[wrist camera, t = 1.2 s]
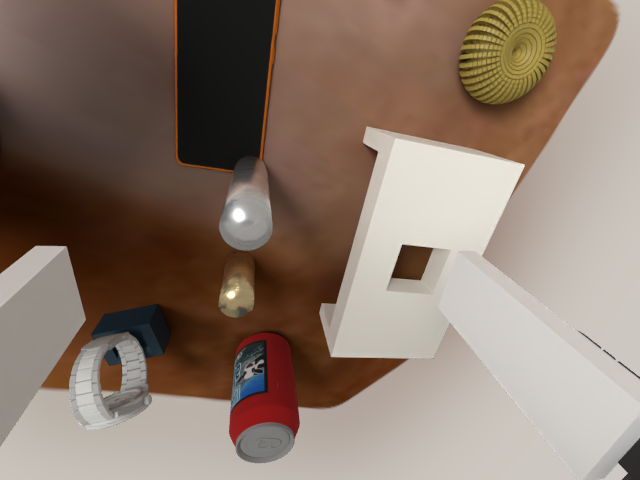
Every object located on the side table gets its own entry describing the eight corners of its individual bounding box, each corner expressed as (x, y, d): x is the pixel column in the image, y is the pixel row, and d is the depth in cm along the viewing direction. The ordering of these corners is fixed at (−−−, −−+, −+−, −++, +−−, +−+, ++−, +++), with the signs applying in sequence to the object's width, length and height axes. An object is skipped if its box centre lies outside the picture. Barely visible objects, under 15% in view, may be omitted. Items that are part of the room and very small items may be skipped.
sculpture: (477, 4, 23) (576, -22, 24) (448, 14, 27) (535, -9, 27) (476, 116, 27) (562, 92, 27) (451, 112, 31) (527, 91, 31)
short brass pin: (224, 273, 34) (217, 316, 28) (227, 249, 33) (219, 288, 27) (253, 276, 35) (251, 318, 28) (256, 252, 33) (255, 290, 27)
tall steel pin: (233, 184, 30) (217, 247, 18) (236, 152, 29) (221, 199, 17) (265, 189, 31) (268, 252, 19) (269, 158, 29) (276, 206, 18)
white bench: (319, 313, 39) (331, 356, 32) (366, 126, 30) (395, 138, 23) (407, 317, 41) (433, 358, 35) (474, 149, 33) (525, 164, 26)
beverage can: (244, 323, 37) (238, 418, 27) (297, 332, 39) (312, 424, 29) (229, 364, 40) (219, 466, 29) (280, 371, 42) (288, 468, 31)
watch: (127, 356, 36) (80, 455, 27) (97, 301, 33) (29, 393, 23) (177, 345, 37) (148, 439, 27) (152, 290, 33) (109, 376, 24)
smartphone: (176, 163, 29) (174, 165, 28) (175, -78, 22) (172, -83, 21) (261, 174, 30) (261, 177, 30) (284, -45, 23) (285, -49, 23)
